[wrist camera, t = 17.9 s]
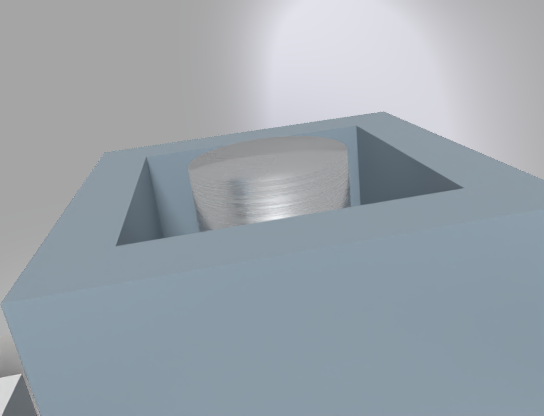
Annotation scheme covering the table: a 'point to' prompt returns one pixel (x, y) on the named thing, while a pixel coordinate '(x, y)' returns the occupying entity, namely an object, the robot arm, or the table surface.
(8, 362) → the table surface
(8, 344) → the table surface
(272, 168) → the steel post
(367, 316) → the sleeve
